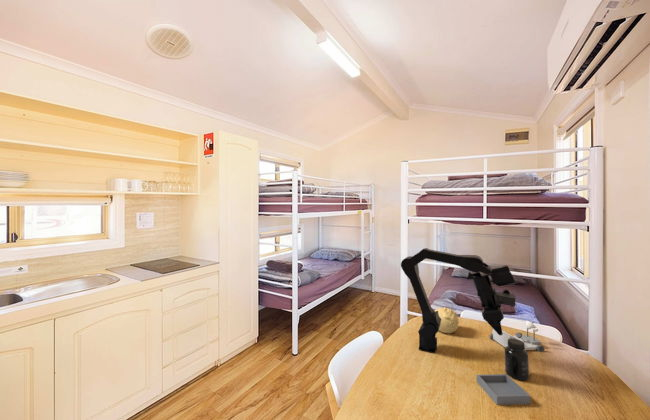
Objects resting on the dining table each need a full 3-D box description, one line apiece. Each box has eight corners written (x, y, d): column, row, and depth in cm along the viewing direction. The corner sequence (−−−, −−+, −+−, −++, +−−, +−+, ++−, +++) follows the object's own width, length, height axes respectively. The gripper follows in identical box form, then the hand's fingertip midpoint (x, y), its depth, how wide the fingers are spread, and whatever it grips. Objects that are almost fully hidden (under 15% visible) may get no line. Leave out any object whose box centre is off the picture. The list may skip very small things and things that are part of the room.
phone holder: (526, 316, 117) (550, 328, 106) (526, 338, 117) (550, 352, 106) (489, 318, 116) (509, 330, 105) (489, 339, 116) (509, 354, 105)
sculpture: (457, 338, 117) (457, 315, 117) (429, 331, 123) (429, 309, 123) (460, 328, 127) (459, 306, 126) (434, 323, 133) (433, 302, 133)
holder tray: (497, 404, 77) (497, 396, 77) (476, 382, 88) (476, 374, 88) (530, 404, 78) (530, 395, 78) (506, 381, 88) (506, 374, 88)
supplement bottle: (524, 371, 93) (524, 338, 93) (532, 383, 87) (532, 348, 87) (502, 367, 95) (501, 335, 95) (508, 379, 89) (508, 344, 89)
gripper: (511, 291, 86) (530, 339, 84) (506, 278, 102) (522, 318, 100) (475, 296, 92) (491, 341, 89) (475, 283, 108) (489, 321, 105)
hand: (500, 329), depth 96 cm, fingers open, 9 cm apart
